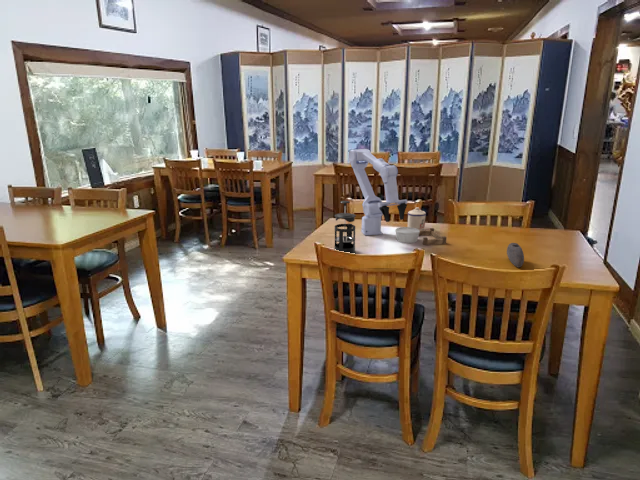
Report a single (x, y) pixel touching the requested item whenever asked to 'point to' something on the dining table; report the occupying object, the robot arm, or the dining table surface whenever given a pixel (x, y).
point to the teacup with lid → (416, 219)
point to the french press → (345, 241)
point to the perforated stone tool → (515, 254)
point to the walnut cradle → (431, 232)
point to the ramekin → (407, 234)
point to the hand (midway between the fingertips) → (394, 220)
